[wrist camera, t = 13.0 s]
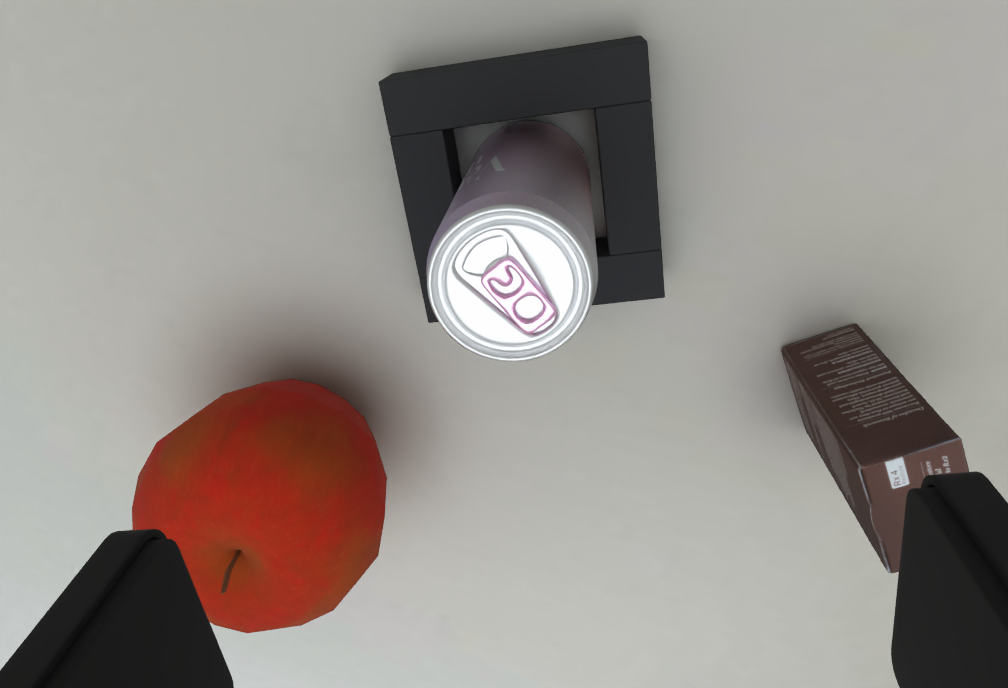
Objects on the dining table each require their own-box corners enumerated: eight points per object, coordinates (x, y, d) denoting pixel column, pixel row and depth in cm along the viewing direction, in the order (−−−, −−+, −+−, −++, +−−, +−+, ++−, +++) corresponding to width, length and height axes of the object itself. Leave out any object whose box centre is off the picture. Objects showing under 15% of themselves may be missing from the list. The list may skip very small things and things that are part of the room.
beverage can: (522, 257, 41) (498, 397, 28) (447, 169, 40) (384, 274, 26) (613, 187, 39) (635, 302, 26) (539, 92, 38) (521, 162, 24)
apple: (424, 353, 44) (365, 507, 32) (404, 519, 50) (347, 708, 37) (210, 317, 44) (66, 455, 32) (213, 487, 50) (91, 664, 37)
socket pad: (391, 73, 38) (377, 81, 35) (641, 35, 36) (647, 40, 34) (437, 300, 43) (428, 323, 40) (658, 276, 41) (664, 298, 39)
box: (886, 407, 44) (990, 553, 33) (805, 431, 45) (880, 580, 34) (862, 315, 41) (966, 438, 31) (777, 342, 42) (848, 471, 32)
